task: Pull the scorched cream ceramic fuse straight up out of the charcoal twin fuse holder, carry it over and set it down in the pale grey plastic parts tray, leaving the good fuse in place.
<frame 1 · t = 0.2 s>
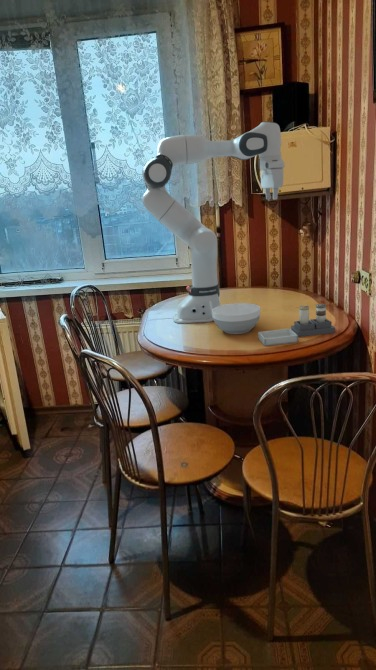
hand: (271, 199, 196), 48 cm above the table, fingers open, 8 cm apart
fuse holder: (312, 331, 175), on the table
blown fuse: (320, 325, 175), point 2 cm above the table, touching fuse holder
parts tray: (277, 340, 169), on the table
good fuse: (304, 327, 174), point 2 cm above the table, touching fuse holder
bowl: (237, 330, 185), on the table
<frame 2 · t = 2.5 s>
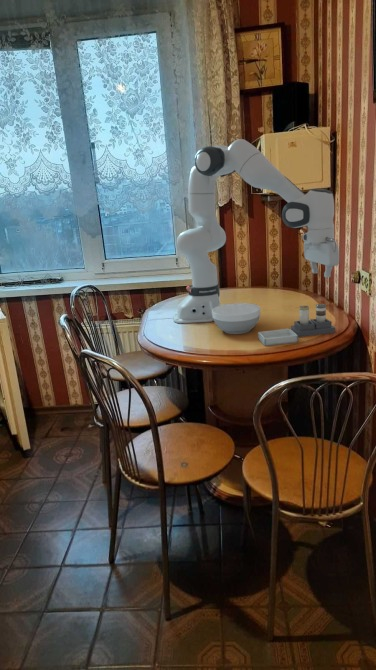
hand: (321, 275, 169), 21 cm above the table, fingers open, 8 cm apart
nothing on the table moved.
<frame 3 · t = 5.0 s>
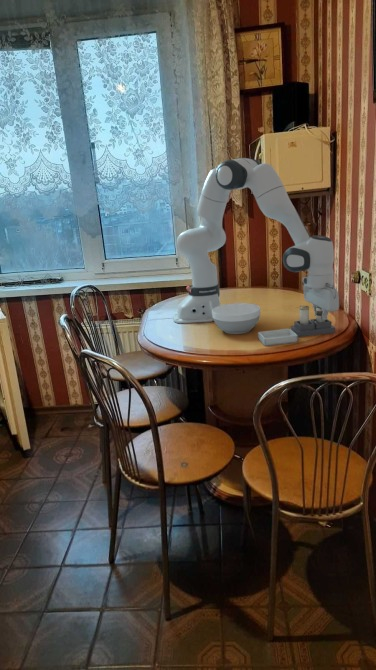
hand: (320, 317, 174), 5 cm above the table, fingers closed on blown fuse, 3 cm apart
blown fuse: (320, 325, 175), point 2 cm above the table, touching fuse holder, gripper
everything else where it was.
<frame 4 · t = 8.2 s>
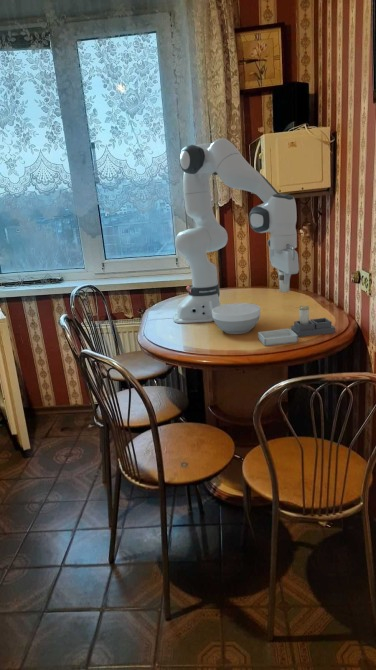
hand: (284, 282, 164), 21 cm above the table, fingers closed on blown fuse, 3 cm apart
blown fuse: (284, 291, 165), point 18 cm above the table, touching gripper
everything else where it was.
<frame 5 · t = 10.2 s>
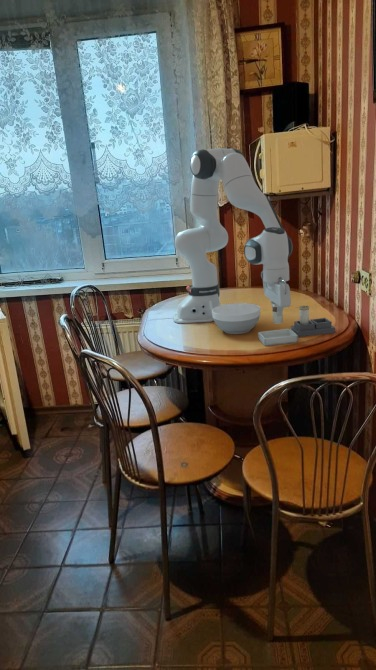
hand: (277, 314, 166), 10 cm above the table, fingers closed on blown fuse, 3 cm apart
blown fuse: (277, 322, 167), point 7 cm above the table, touching gripper
everything else where it was.
when the fingers open (6 cm above the table, at t = 11.6 s): blown fuse drops 2 cm, resting on parts tray.
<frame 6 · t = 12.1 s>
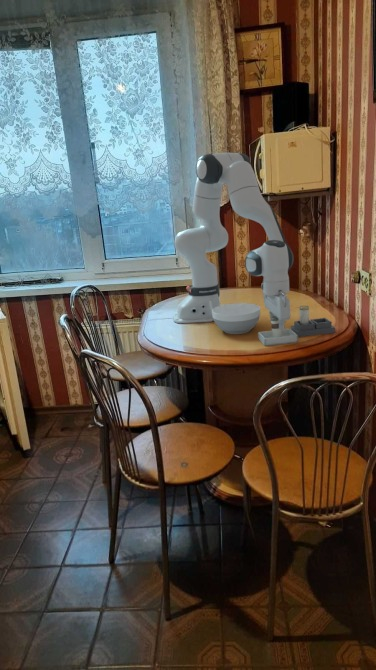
hand: (277, 325, 167), 6 cm above the table, fingers open, 8 cm apart
blown fuse: (277, 338, 169), point 1 cm above the table, touching parts tray
everything else where it was.
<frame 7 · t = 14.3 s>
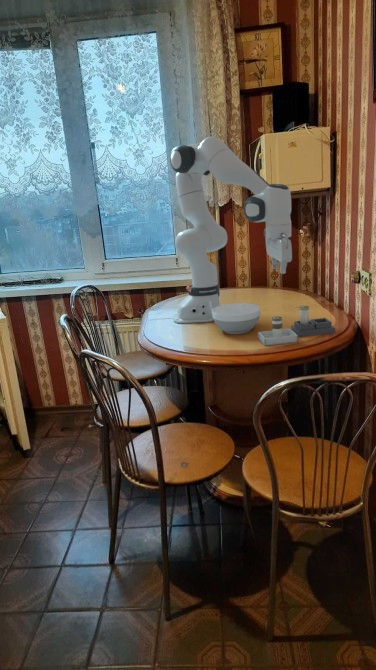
hand: (278, 271, 169), 24 cm above the table, fingers open, 8 cm apart
nothing on the table moved.
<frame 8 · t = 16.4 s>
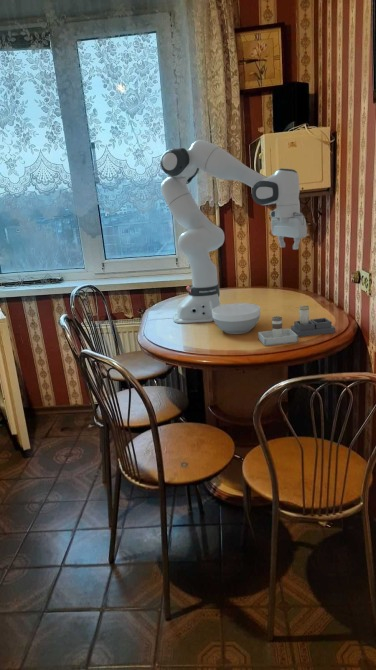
hand: (288, 248, 185), 29 cm above the table, fingers open, 8 cm apart
nothing on the table moved.
at the end: blown fuse inside the target area on the parts tray (0.1 cm from its centre), point 0.5 cm above the parts tray's base; the gripper is holding nothing; good fuse moved 0.0 cm from its start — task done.
